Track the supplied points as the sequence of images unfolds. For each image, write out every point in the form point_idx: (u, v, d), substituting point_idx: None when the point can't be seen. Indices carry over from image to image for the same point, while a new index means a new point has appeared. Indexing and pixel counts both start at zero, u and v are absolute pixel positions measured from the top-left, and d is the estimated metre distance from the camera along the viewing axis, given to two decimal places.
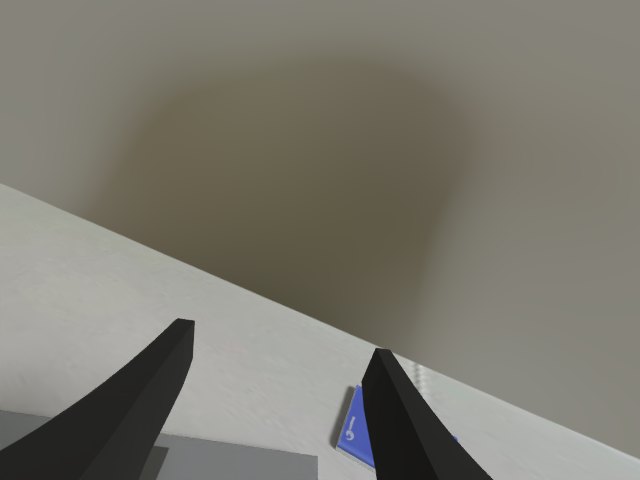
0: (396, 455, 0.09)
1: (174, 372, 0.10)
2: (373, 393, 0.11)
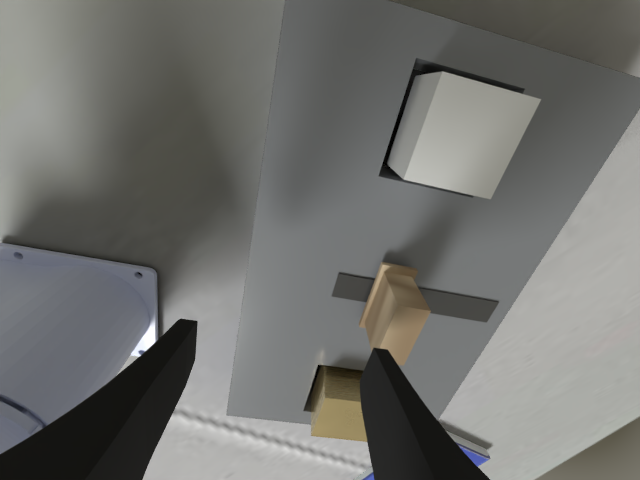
0: (393, 455, 0.09)
1: (177, 372, 0.10)
2: (371, 393, 0.11)
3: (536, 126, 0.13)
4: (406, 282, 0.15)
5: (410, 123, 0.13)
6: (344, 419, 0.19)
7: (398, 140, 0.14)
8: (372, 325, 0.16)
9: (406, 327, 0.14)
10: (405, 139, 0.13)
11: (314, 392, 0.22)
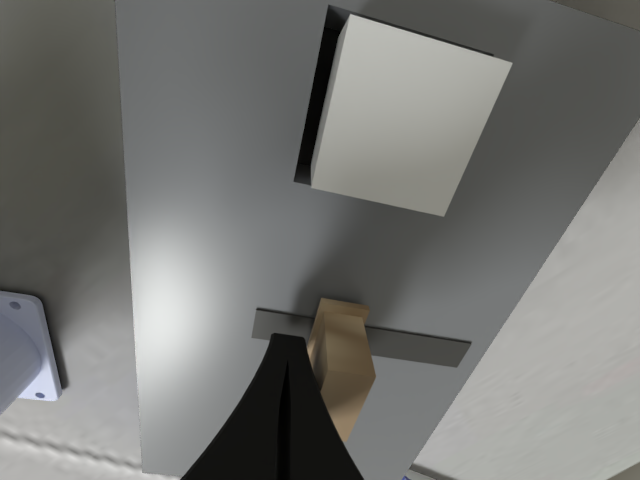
0: (281, 444, 0.09)
1: None
2: None
3: (513, 110, 0.09)
4: (351, 327, 0.11)
5: (326, 104, 0.09)
6: None
7: (319, 131, 0.10)
8: None
9: (343, 397, 0.10)
10: (321, 128, 0.09)
11: None
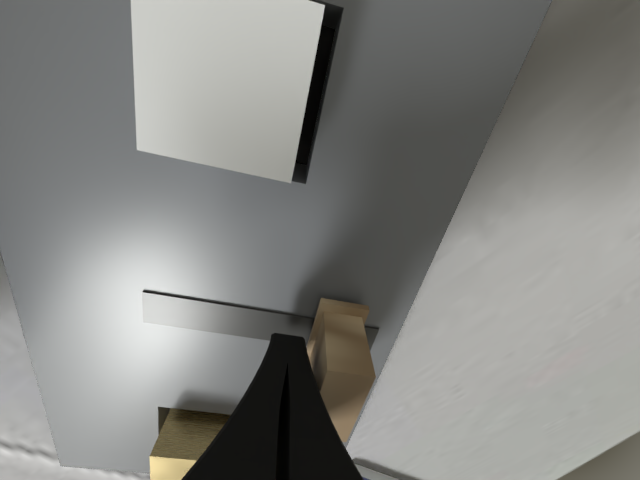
0: (281, 444, 0.09)
1: None
2: None
3: (376, 72, 0.09)
4: (351, 327, 0.11)
5: None
6: None
7: None
8: None
9: (343, 397, 0.10)
10: None
11: None
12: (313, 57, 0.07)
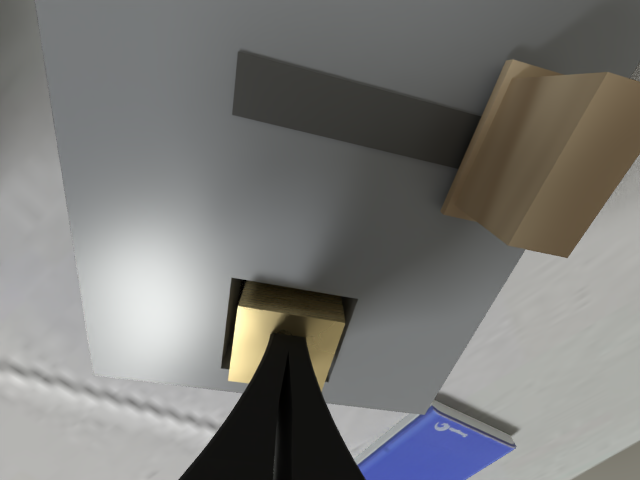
0: (283, 444, 0.09)
1: None
2: (281, 381, 0.11)
3: None
4: None
5: None
6: None
7: None
8: (487, 190, 0.08)
9: (606, 147, 0.06)
10: None
11: None
12: None
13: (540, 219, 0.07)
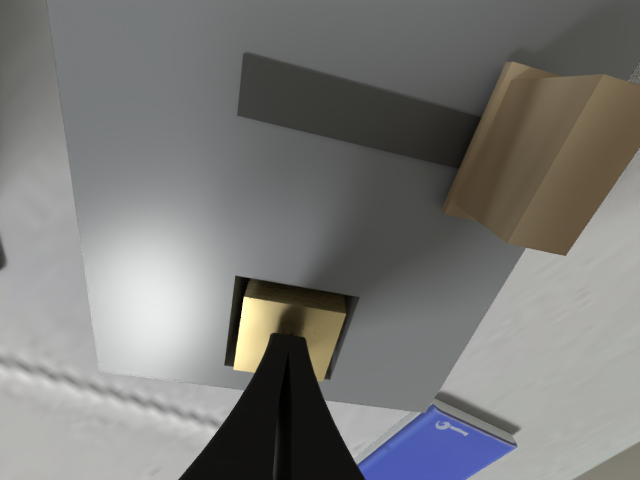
0: (283, 444, 0.09)
1: None
2: (281, 381, 0.11)
3: None
4: None
5: None
6: None
7: None
8: (487, 189, 0.08)
9: (602, 147, 0.06)
10: None
11: None
12: None
13: (538, 218, 0.07)
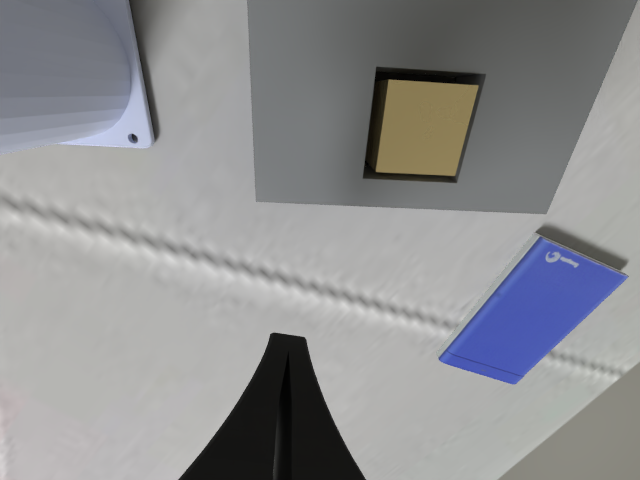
0: (283, 444, 0.09)
1: None
2: (281, 381, 0.11)
3: None
4: None
5: None
6: (419, 128, 0.14)
7: None
8: None
9: None
10: None
11: (369, 140, 0.16)
12: None
13: None
